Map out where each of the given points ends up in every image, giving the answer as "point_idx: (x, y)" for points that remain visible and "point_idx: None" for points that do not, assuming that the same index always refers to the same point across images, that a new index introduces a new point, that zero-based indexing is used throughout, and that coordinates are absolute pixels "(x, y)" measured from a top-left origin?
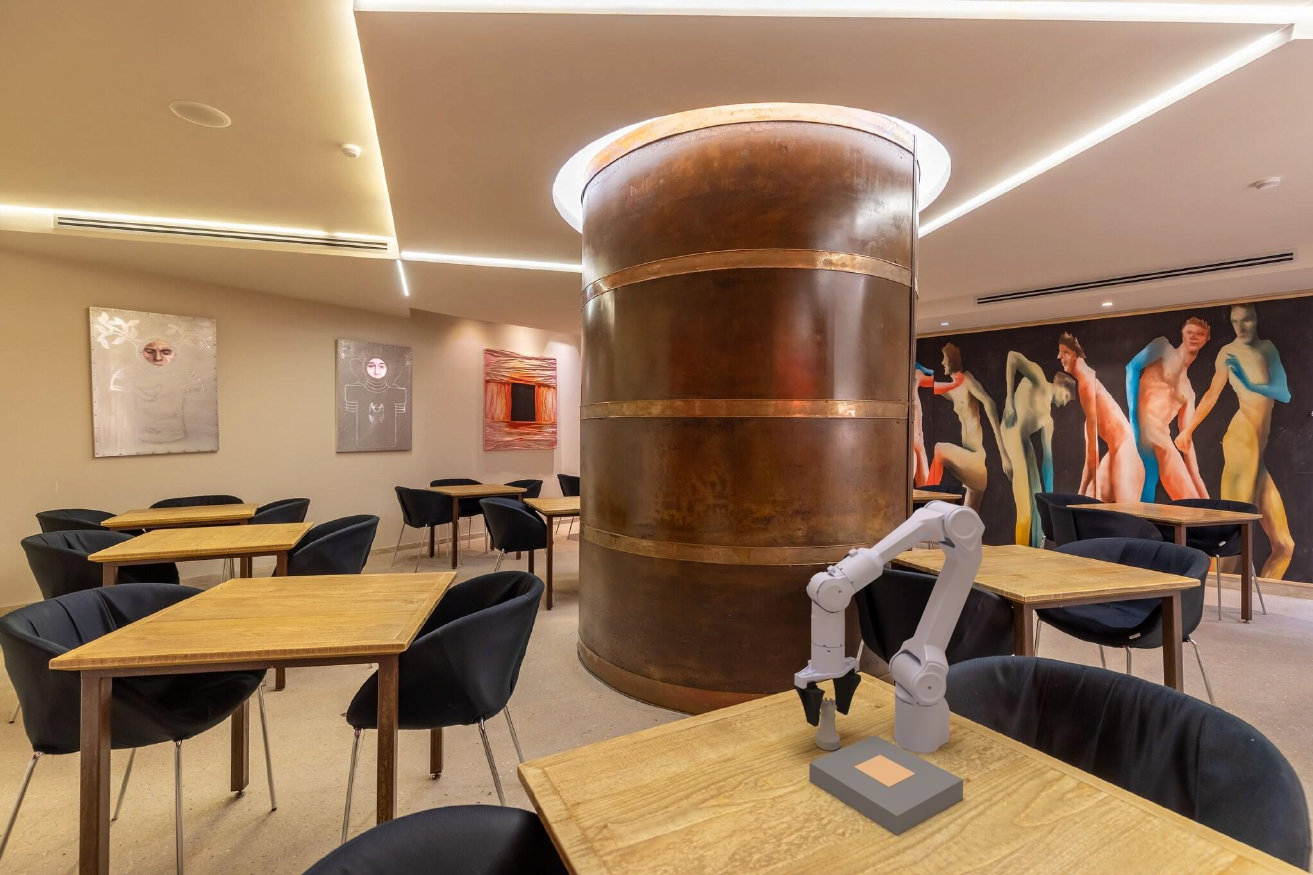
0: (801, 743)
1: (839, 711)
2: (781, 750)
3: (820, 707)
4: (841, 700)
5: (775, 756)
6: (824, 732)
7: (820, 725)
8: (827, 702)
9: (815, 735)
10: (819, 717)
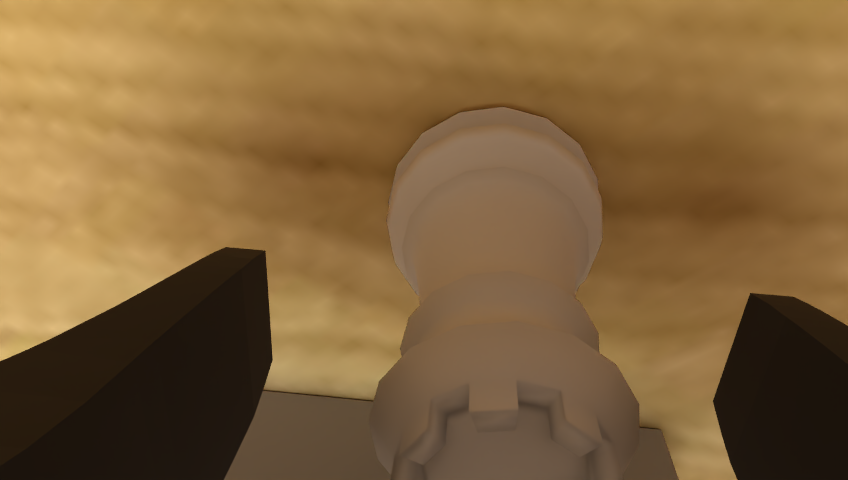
0: (335, 50)
1: (740, 337)
2: (106, 21)
3: (376, 402)
4: (804, 471)
5: (8, 56)
6: (416, 281)
7: (432, 245)
8: (493, 476)
9: (421, 155)
10: (234, 450)
